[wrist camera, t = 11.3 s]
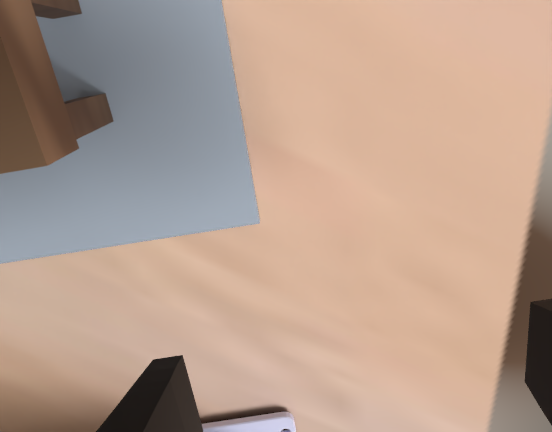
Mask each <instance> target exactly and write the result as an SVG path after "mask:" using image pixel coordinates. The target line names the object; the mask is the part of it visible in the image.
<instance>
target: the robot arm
mask: <svg viewBox="0 0 552 432" xmlns="http://www.w3.org/2000/svg"><path fill="white" fill-rule="evenodd" d="M525 383H526V384H527V386H528V387H529V389H530V391H531V393H532V394H533V396H534V398H535V399H536V401H537V403H538V405H539V406H540V408H541V409H542V411H543V413H544V414H545V416H546V417H547V419H548V420H549V422H550V423H551V425H552V299H548V300H541V301H534V302H531V304H530V318H529V331H528V344H527V359H526V372H525ZM283 429H288V430H283ZM96 432H296V427H295V422H294V417H293V415H292V414H291V413H289V412H277V413H271V414H264V415H257V416H251V417H244V418H238V419H231V420H224V421H218V422H211V423H204V424H201V421H200V417H199V413H198V410H197V406H196V402H195V399H194V395H193V392H192V388H191V384H190V381H189V377H188V373H187V370H186V366H185V363H184V359H183V355H180V356H174V357H167V358H161V359H154V360H153V361H152V362H151V363H150V364H149V366H148V367H147V368H146V369H145V371H144V372H143V373H142V374H141V376H140V377H139V378H138V380H137V381H136V382H135V383H134V385H133V386H132V387H131V388H130V390H129V391H128V392H127V394H126V395H125V396H124V397H123V399H122V400H121V401H120V403H119V404H118V405H117V406H116V408H115V409H114V410H113V411H112V413H111V414H110V415H109V416H108V418H107V419H106V420H105V421H104V423H103V424H102V425H101V426H100V428H99V429H98V430H97V431H96Z"/></svg>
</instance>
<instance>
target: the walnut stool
mask: <svg viewBox="0 0 552 432" xmlns="http://www.w3.org/2000/svg"><path fill="white" fill-rule="evenodd" d="M79 14H82V11H81V8H80V4H79V1H78V0H0V174H3V173H9V172H15V171H21V170H26V169H32V168H38V167H44V166H48V165H50V164H52V163H54V162H55V161H57V160H59V159H61V158H63V157H65V156H66V155H68V154H70V153H72V152H74V151H76V150H77V149H79V146H78V143H77V140H76V139H78V138H81V137H83V136H85V135H87V134H89V133H91V132H93V131H95V130H97V129H99V128H101V127H103V126H105V125H107V124H109V123H111V122H114V120H113V117H112V113H111V110H110V107H109V103H108V100H107V96H106V93H104V94H99V95H93V96H87V97H81V98H76V99H72V100H68V101H65V102H64V100H63V97H62V94H61V91H60V88H59V85H58V82H57V79H56V76H55V73H54V70H53V67H52V64H51V61H50V58H49V55H48V52H47V49H46V46H45V43H44V40H43V37H42V34H41V30H40V27H39V24H38V21H37V18H36V16H38V17H44V18H50V19H56V18H61V17H67V16H73V15H79Z"/></svg>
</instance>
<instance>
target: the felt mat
mask: <svg viewBox="0 0 552 432" xmlns="http://www.w3.org/2000/svg"><path fill="white" fill-rule="evenodd" d="M78 1H79V4H80V8H81V11H82V14H79V15H73V16H67V17H61V18H56V19H50V18H44V17H38V16H36V18H37V21H38V24H39V27H40V30H41V34H42V37H43V40H44V43H45V46H46V49H47V52H48V55H49V58H50V61H51V64H52V67H53V70H54V73H55V76H56V79H57V82H58V85H59V88H60V91H61V94H62V97H63V100H64V102H65V101H68V100H72V99H76V98H81V97H87V96H93V95H99V94H104V93H106V96H107V100H108V103H109V107H110V110H111V113H112V117H113V120H114V122H111V123H109V124H107V125H105V126H103V127H101V128H99V129H97V130H95V131H93V132H91V133H89V134H87V135H85V136H83V137H81V138H78V139H76V140H77V143H78V146H79V149H77V150H76V151H74V152H72V153H70V154H68V155H66V156H65V157H63V158H61V159H59V160H57V161H55V162H54V163H52V164H50V165H48V166H44V167H38V168H32V169H26V170H21V171H15V172H9V173H3V174H0V264H1V263H8V262H14V261H21V260H27V259H34V258H40V257H46V256H53V255H59V254H66V253H72V252H79V251H85V250H92V249H98V248H104V247H111V246H117V245H124V244H130V243H137V242H143V241H149V240H156V239H162V238H169V237H175V236H182V235H188V234H195V233H201V232H207V231H214V230H220V229H227V228H233V227H240V226H246V225H253V224H259V223H260V219H259V213H258V207H257V202H256V196H255V190H254V184H253V179H252V173H251V167H250V161H249V156H248V150H247V144H246V138H245V133H244V127H243V121H242V115H241V110H240V104H239V98H238V92H237V87H236V81H235V75H234V69H233V64H232V58H231V52H230V46H229V41H228V35H227V29H226V23H225V18H224V12H223V6H222V0H78Z"/></svg>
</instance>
